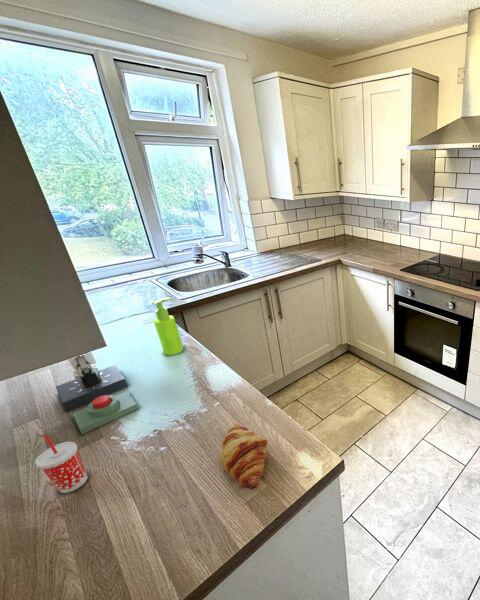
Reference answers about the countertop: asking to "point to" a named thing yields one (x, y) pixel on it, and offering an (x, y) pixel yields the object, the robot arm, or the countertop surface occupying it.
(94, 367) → the dial
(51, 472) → the beverage cup
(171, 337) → the soap dispenser
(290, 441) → the countertop surface
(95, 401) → the button
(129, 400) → the button block
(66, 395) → the dial panel
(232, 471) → the croissant
